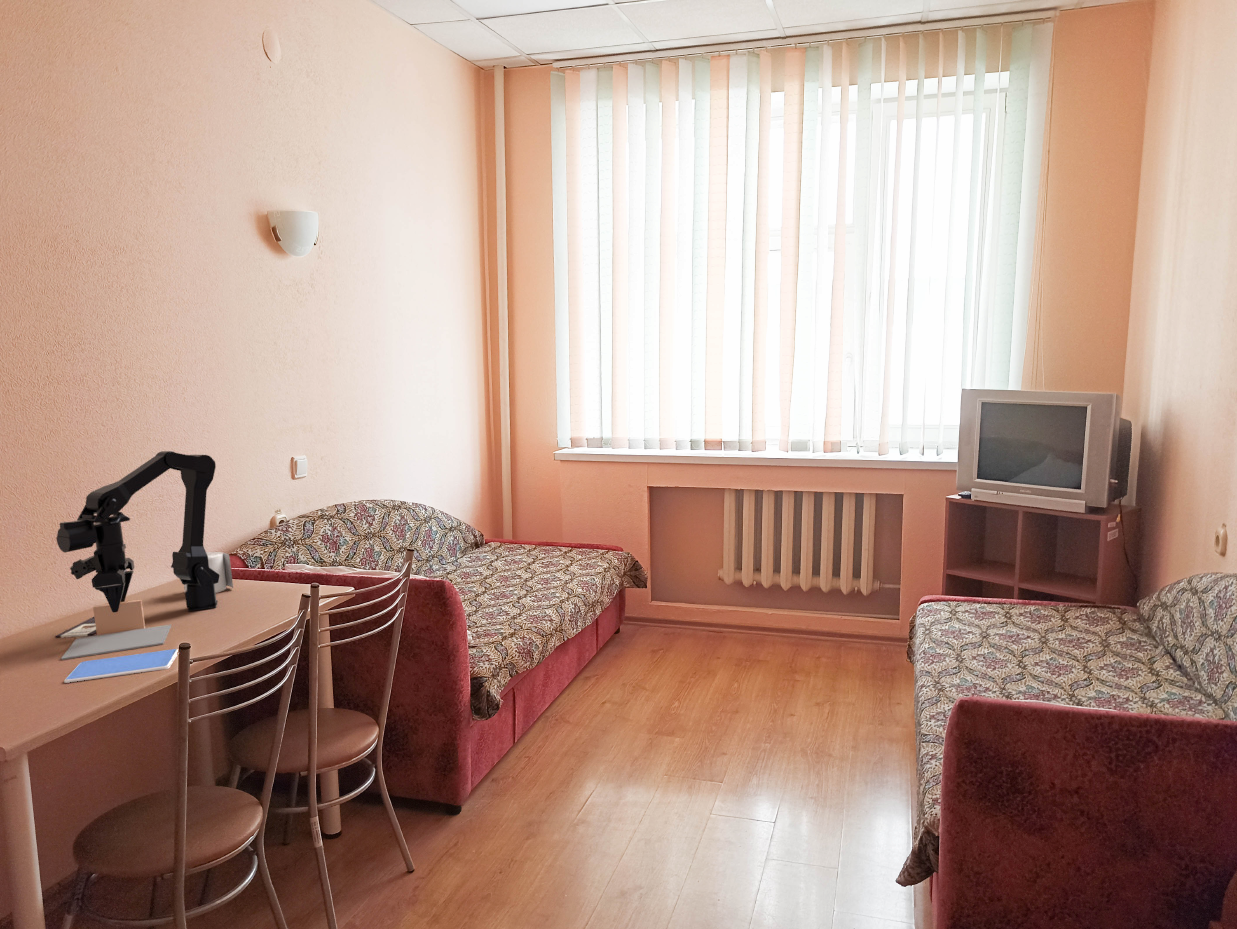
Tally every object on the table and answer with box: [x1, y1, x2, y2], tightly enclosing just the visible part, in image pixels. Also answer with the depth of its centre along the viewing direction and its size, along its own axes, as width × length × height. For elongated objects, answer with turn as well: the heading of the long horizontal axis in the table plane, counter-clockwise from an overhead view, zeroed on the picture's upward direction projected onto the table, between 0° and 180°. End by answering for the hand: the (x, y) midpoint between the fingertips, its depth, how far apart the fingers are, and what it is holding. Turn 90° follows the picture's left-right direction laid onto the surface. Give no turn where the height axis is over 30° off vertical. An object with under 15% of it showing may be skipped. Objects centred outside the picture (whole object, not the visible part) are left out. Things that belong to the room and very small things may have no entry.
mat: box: [60, 624, 172, 661], centre depth 208 cm, size 20×16×1 cm
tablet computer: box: [63, 648, 179, 684], centre depth 189 cm, size 19×13×1 cm, turn 106°
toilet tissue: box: [183, 551, 234, 594], centre depth 252 cm, size 11×12×10 cm
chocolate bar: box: [54, 616, 97, 639], centre depth 224 cm, size 9×1×18 cm
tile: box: [92, 598, 146, 635], centre depth 216 cm, size 10×2×7 cm, turn 110°
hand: (118, 607), depth 216 cm, fingers open, 9 cm apart
